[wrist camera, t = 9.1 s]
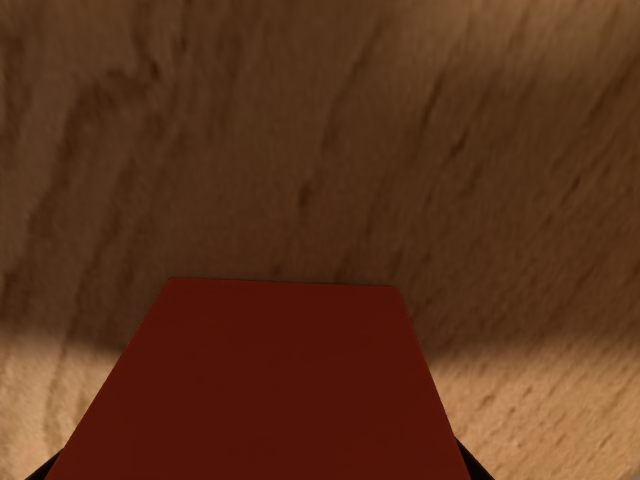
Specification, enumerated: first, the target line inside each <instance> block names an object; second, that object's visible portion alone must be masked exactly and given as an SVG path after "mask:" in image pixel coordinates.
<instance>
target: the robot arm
mask: <svg viewBox="0 0 640 480" xmlns="http://www.w3.org/2000/svg"><path fill="white" fill-rule="evenodd" d="M455 439H456V441H457V444H458V447H459V449H460V452H461V455H462V457H463V460H464V462H465V465H466V468H467V470H468V473H469V476H470V478H471V480H495V479H494V478H493V477H492V476H491V475H490V474H489V473H488V472H487V471H486V469H485V468H484V467H483V466H482V465H481V464H480V463H479V462H478V461H477V460H476V459H475V458H474V456H473V455H472V454H471V453H470V452H469V451H468V450H467V449H466V448H465V447H464V446H463V445H462V443H461V442H460V441H459V440H458V439H457V438H456V437H455ZM62 450H63V449H62ZM62 450H60V451H59V452H58V453H57V454H55V455H54V456H53V457H52V458H51V459H49V460H48V461H47V462H46V463H44V464H43V465H42V466H41V467H40V468H38V469H37V470H36V471H35V472H33V473H32V474H31V475H30V476H29V477H27V478H26V479H25V480H44V479H45V477H46V476H47V474H48V472H49V471H50V469H51V468H52V466H53V464H54V463H55V461H56V460H57V458H58V456H59V455H60V453H61V451H62Z"/></svg>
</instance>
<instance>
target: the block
mask: <svg viewBox="0 0 640 480" xmlns="http://www.w3.org/2000/svg"><path fill="white" fill-rule="evenodd" d="M44 480H471V478H470V476H469V473H468V470H467V468H466V465H465V462H464V460H463V457H462V455H461V452H460V449H459V447H458V444H457V441H456V439H455V436H454V434H453V431H452V428H451V426H450V423H449V420H448V418H447V415H446V413H445V410H444V407H443V405H442V402H441V400H440V397H439V394H438V392H437V389H436V386H435V384H434V381H433V379H432V376H431V373H430V371H429V368H428V365H427V363H426V360H425V358H424V355H423V352H422V350H421V347H420V345H419V342H418V339H417V337H416V334H415V331H414V329H413V326H412V324H411V321H410V318H409V316H408V313H407V310H406V308H405V305H404V303H403V300H402V297H401V295H400V292H399V290H398V288H397V287H392V286H367V285H342V284H317V283H292V282H266V281H241V280H216V279H191V278H170V279H168V281H167V282H166V284H165V286H164V287H163V289H162V290H161V292H160V294H159V295H158V297H157V298H156V300H155V302H154V303H153V305H152V307H151V308H150V310H149V311H148V313H147V315H146V316H145V318H144V319H143V321H142V323H141V324H140V326H139V327H138V329H137V331H136V332H135V334H134V336H133V337H132V339H131V340H130V342H129V344H128V345H127V347H126V348H125V350H124V352H123V353H122V355H121V356H120V358H119V360H118V361H117V363H116V365H115V366H114V368H113V369H112V371H111V373H110V374H109V376H108V377H107V379H106V381H105V382H104V384H103V385H102V387H101V389H100V390H99V392H98V394H97V395H96V397H95V398H94V400H93V402H92V403H91V405H90V406H89V408H88V410H87V411H86V413H85V414H84V416H83V418H82V419H81V421H80V422H79V424H78V426H77V427H76V429H75V431H74V432H73V434H72V435H71V437H70V439H69V440H68V442H67V443H66V445H65V447H64V448H63V450H62V451H61V453H60V455H59V456H58V458H57V460H56V461H55V463H54V464H53V466H52V468H51V469H50V471H49V472H48V474H47V476H46V477H45V479H44Z"/></svg>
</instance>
